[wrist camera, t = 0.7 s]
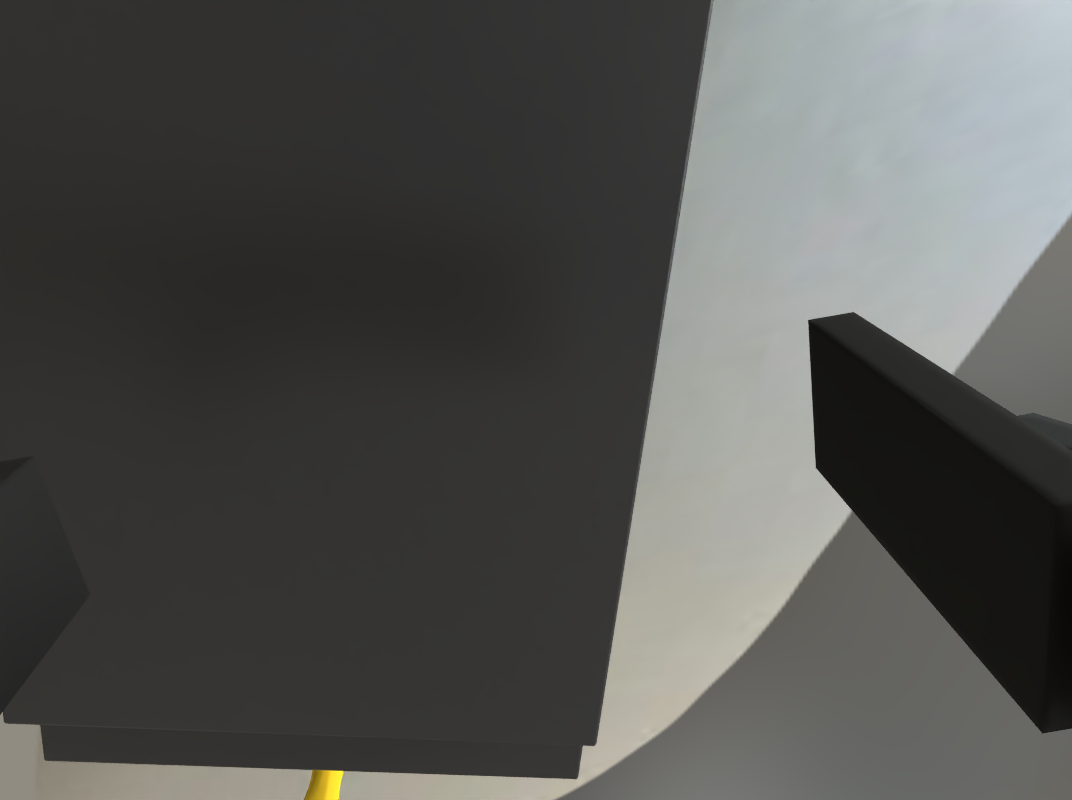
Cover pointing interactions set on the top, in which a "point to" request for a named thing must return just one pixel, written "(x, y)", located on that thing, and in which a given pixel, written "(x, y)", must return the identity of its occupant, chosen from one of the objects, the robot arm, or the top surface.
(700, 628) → the top surface
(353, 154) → the coffee maker
